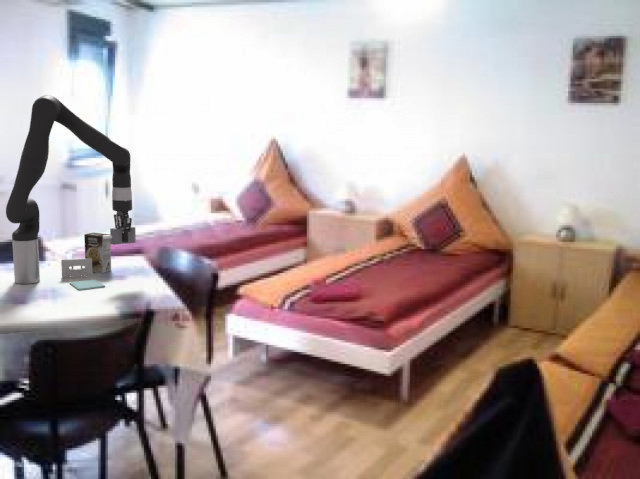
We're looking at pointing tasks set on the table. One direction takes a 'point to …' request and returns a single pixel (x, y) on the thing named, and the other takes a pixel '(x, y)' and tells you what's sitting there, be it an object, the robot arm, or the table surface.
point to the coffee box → (98, 251)
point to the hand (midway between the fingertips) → (123, 240)
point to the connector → (120, 236)
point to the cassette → (76, 272)
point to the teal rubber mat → (87, 284)
